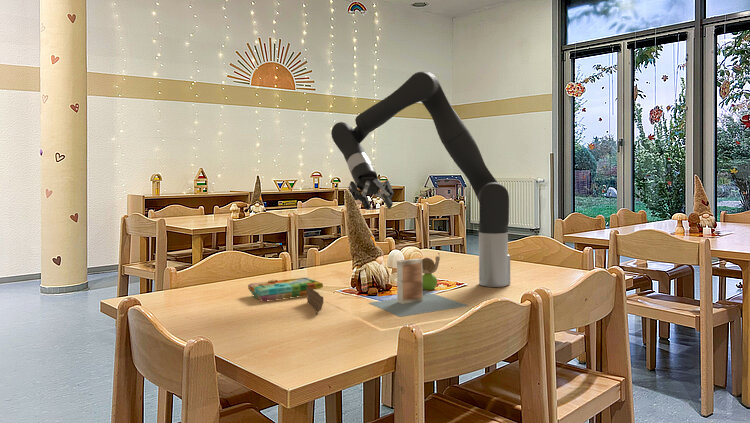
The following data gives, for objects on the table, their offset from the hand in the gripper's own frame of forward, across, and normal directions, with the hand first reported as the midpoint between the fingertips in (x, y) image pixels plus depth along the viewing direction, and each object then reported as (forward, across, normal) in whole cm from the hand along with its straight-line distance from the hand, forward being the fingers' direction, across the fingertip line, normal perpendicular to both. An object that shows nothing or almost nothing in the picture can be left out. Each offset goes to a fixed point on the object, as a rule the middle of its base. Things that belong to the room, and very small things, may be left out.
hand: (379, 207), depth 178 cm
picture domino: (+31, 0, +6) cm, 31 cm away
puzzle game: (+10, -27, +28) cm, 40 cm away
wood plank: (+25, -26, +13) cm, 38 cm away
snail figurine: (+23, +14, +14) cm, 31 cm away
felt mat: (+34, 0, +4) cm, 34 cm away
